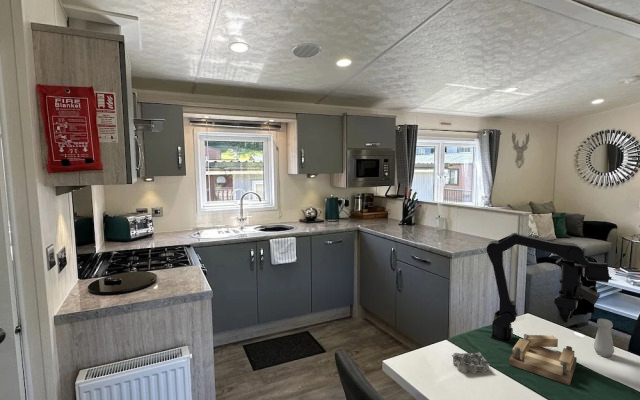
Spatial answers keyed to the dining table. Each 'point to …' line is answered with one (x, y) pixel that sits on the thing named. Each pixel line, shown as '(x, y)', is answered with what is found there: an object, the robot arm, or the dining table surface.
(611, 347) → the salt shaker
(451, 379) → the dining table surface
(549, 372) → the wooden slat frame
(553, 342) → the hinged leg
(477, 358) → the grey jagged rock
